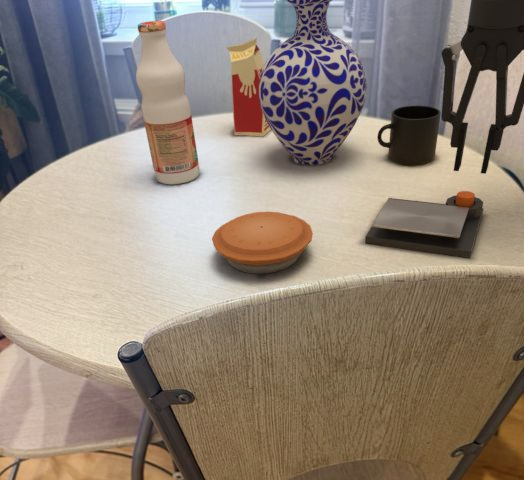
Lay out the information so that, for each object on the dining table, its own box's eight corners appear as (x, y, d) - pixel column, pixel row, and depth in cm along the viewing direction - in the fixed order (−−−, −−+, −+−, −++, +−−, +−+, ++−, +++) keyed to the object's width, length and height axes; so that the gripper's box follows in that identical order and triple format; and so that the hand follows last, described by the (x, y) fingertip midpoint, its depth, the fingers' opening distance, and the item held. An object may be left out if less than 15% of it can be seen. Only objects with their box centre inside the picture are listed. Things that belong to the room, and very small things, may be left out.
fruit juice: (146, 178, 113) (114, 25, 95) (181, 164, 117) (156, 16, 100) (174, 189, 107) (144, 29, 89) (209, 174, 112) (188, 19, 94)
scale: (482, 213, 90) (486, 197, 88) (469, 258, 79) (473, 240, 77) (388, 203, 96) (389, 187, 94) (364, 243, 85) (365, 225, 83)
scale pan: (468, 209, 85) (469, 207, 85) (459, 238, 78) (459, 236, 78) (388, 200, 90) (388, 198, 89) (372, 226, 83) (372, 225, 83)
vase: (255, 176, 109) (241, 4, 90) (272, 140, 125) (263, -13, 106) (361, 176, 105) (370, -4, 86) (364, 139, 121) (372, -20, 102)
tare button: (474, 201, 88) (476, 191, 87) (471, 209, 86) (473, 198, 85) (456, 200, 89) (458, 190, 88) (453, 207, 87) (455, 197, 86)
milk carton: (274, 124, 135) (270, 33, 122) (265, 136, 128) (259, 42, 115) (240, 123, 137) (232, 34, 124) (229, 135, 130) (219, 43, 117)
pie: (204, 281, 80) (200, 251, 76) (226, 232, 91) (222, 204, 88) (307, 283, 77) (307, 253, 74) (316, 232, 89) (316, 204, 86)
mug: (373, 151, 115) (376, 107, 110) (429, 148, 114) (435, 103, 109) (378, 167, 108) (381, 121, 102) (438, 164, 107) (445, 118, 101)
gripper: (574, -16, 68) (529, 164, 83) (442, -13, 74) (422, 156, 89) (574, -8, 63) (525, 183, 78) (432, -4, 69) (412, 173, 84)
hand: (470, 168), depth 83 cm, fingers open, 3 cm apart
